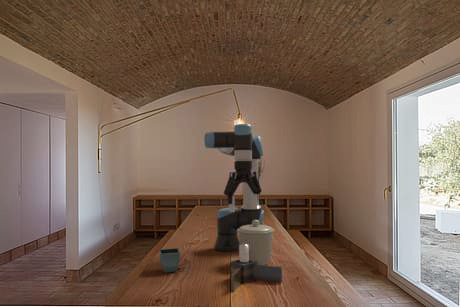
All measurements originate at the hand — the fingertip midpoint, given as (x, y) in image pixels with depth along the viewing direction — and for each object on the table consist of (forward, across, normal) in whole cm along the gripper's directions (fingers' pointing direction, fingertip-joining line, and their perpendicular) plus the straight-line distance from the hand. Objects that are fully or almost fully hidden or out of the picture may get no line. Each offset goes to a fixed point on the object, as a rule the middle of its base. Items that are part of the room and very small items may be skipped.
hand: (243, 210), depth 148 cm
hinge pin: (+28, 0, 0) cm, 28 cm away
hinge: (+28, +3, +5) cm, 29 cm away
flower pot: (+29, +17, -31) cm, 46 cm away
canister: (+29, -20, -12) cm, 37 cm away
